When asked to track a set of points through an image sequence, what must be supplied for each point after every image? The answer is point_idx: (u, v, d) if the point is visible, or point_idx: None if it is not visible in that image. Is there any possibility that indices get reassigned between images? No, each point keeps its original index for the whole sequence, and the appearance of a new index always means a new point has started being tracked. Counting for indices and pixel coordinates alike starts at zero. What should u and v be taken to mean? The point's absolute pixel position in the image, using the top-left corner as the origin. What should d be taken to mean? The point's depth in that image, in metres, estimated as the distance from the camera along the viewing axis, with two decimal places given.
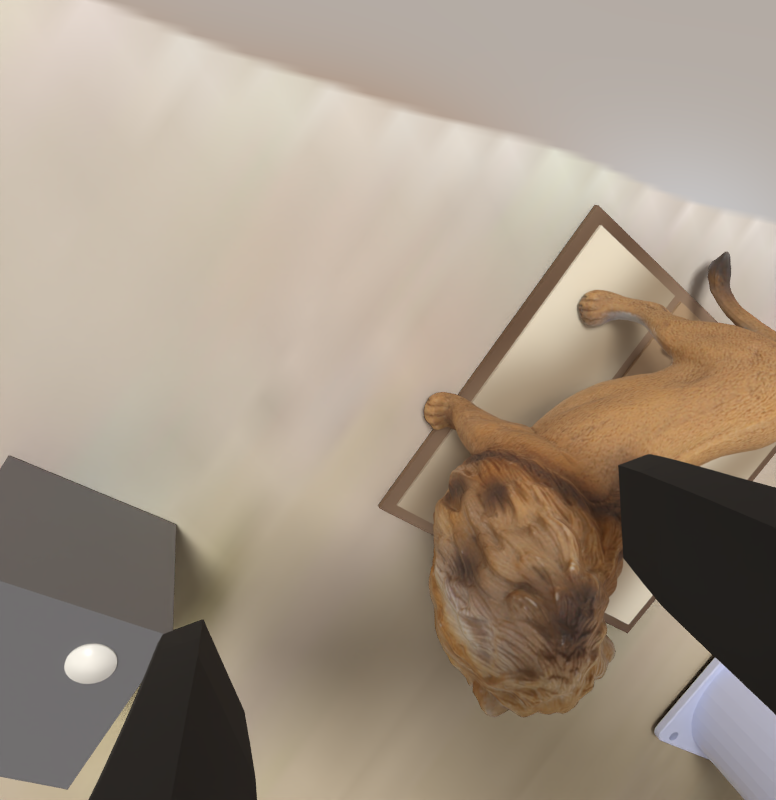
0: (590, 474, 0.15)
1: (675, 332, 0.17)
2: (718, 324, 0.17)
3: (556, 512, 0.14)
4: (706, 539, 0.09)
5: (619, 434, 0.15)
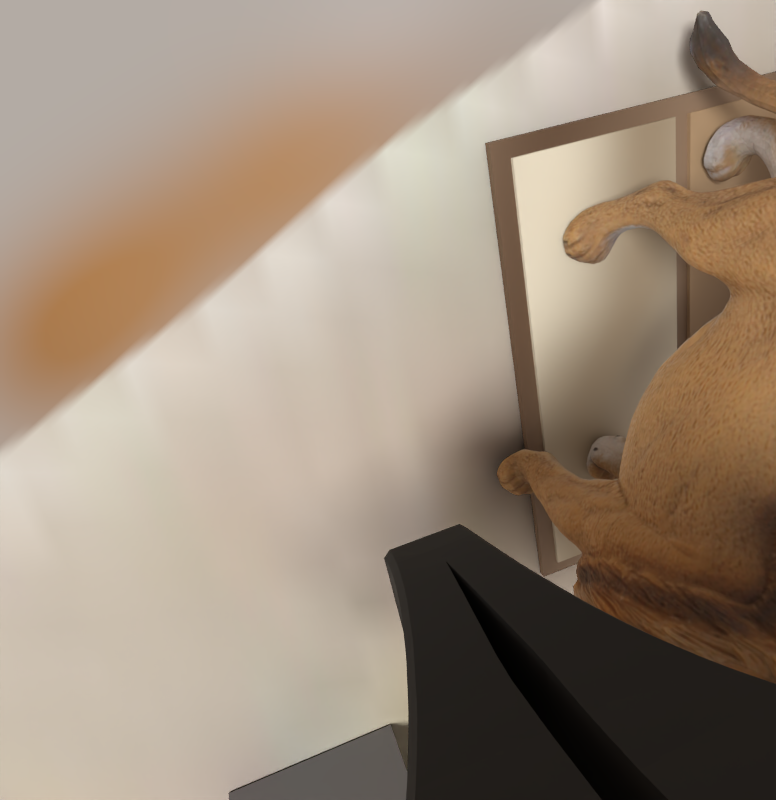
0: (724, 560, 0.10)
1: (704, 249, 0.11)
2: (756, 204, 0.10)
3: (714, 652, 0.10)
4: (483, 631, 0.08)
5: (725, 479, 0.10)
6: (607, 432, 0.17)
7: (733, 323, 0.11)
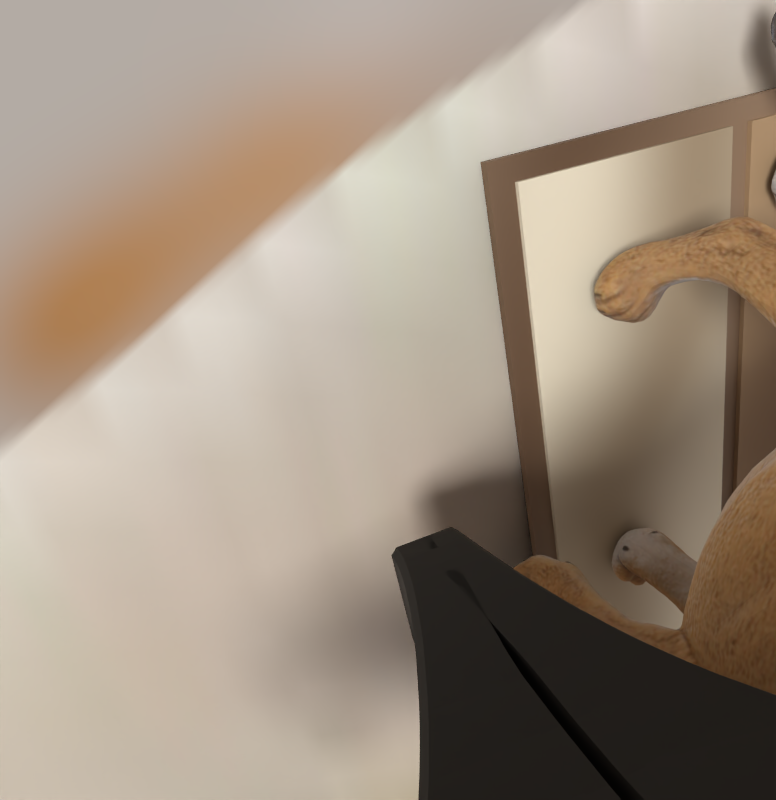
0: None
1: None
2: None
3: None
4: None
5: None
6: (635, 521, 0.13)
7: None
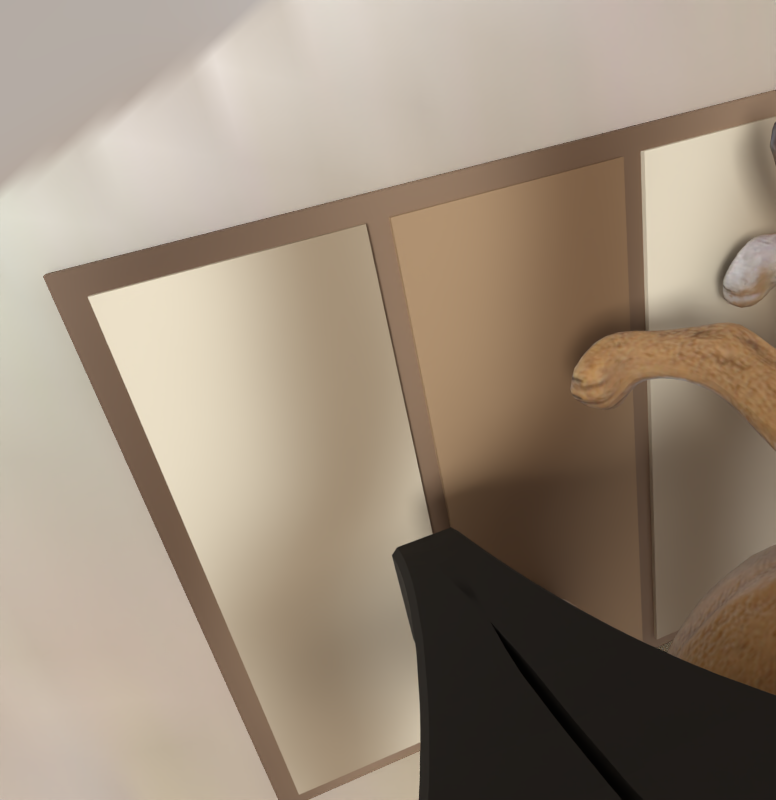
0: None
1: None
2: None
3: None
4: None
5: None
6: (340, 637, 0.12)
7: None
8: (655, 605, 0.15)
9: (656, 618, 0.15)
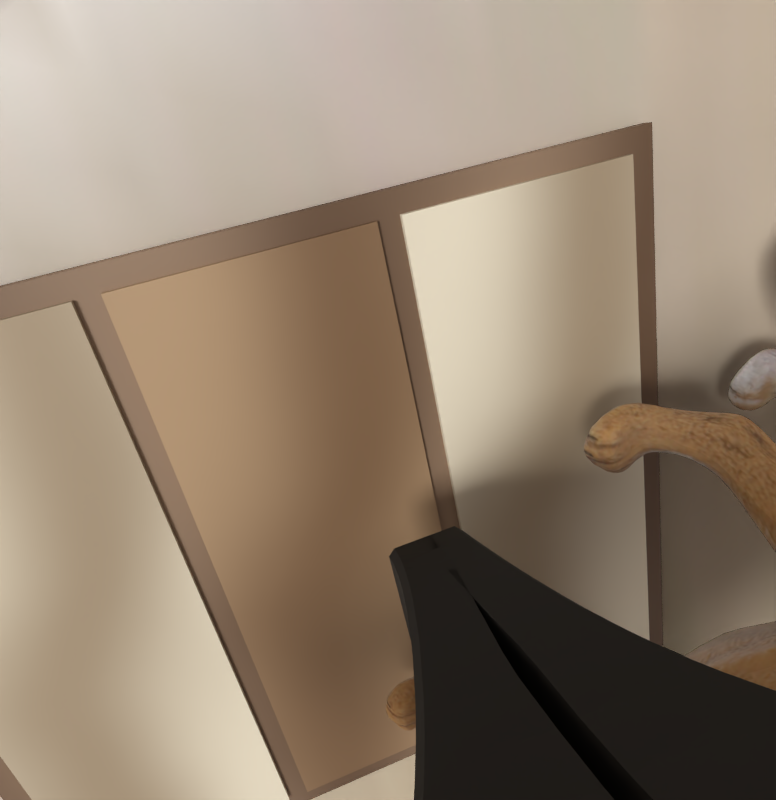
0: None
1: None
2: None
3: None
4: None
5: None
6: (115, 726, 0.11)
7: None
8: None
9: None
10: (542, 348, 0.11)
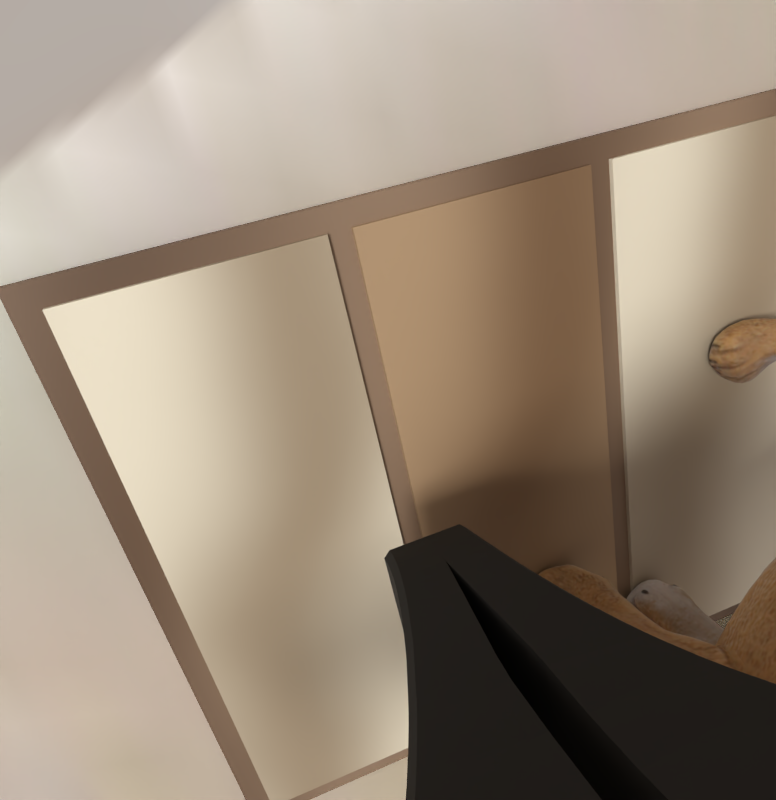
0: None
1: None
2: None
3: None
4: None
5: None
6: (311, 649, 0.12)
7: None
8: None
9: None
10: (716, 292, 0.12)
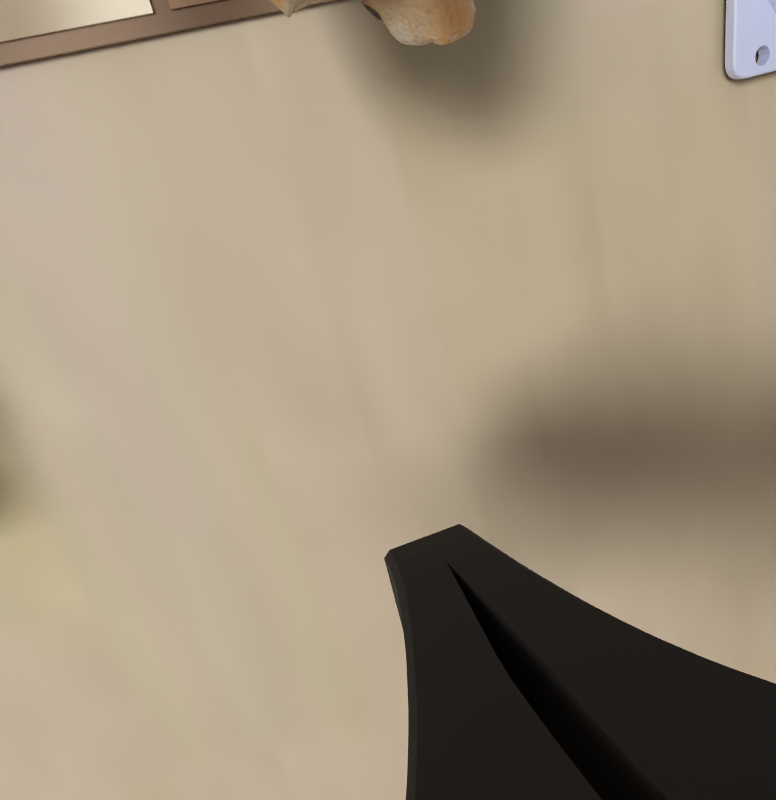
0: None
1: None
2: None
3: None
4: (483, 631, 0.08)
5: None
6: None
7: None
8: None
9: None
10: None
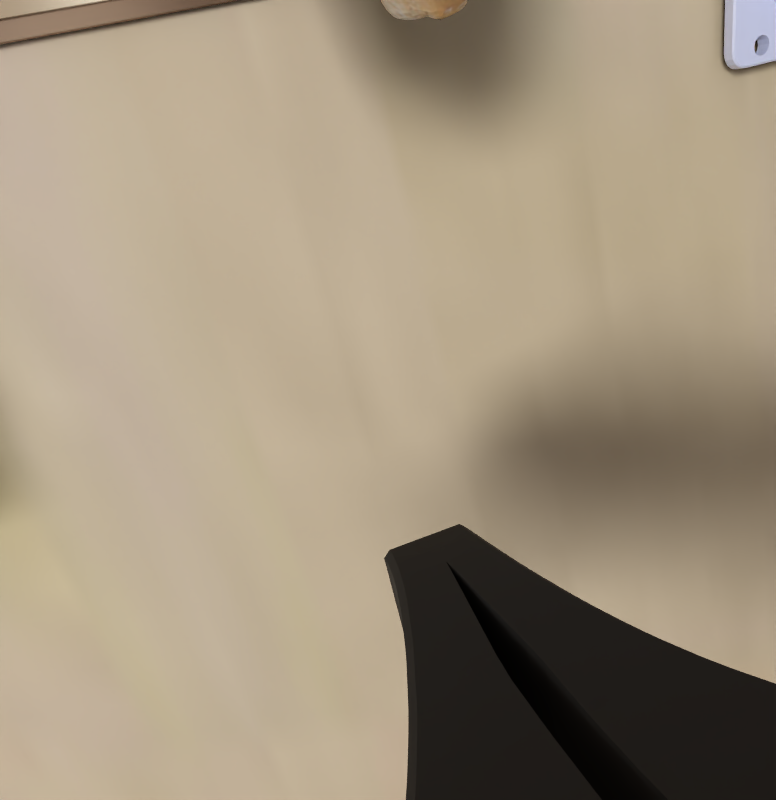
0: None
1: None
2: None
3: None
4: (483, 631, 0.08)
5: None
6: None
7: None
8: None
9: None
10: None
